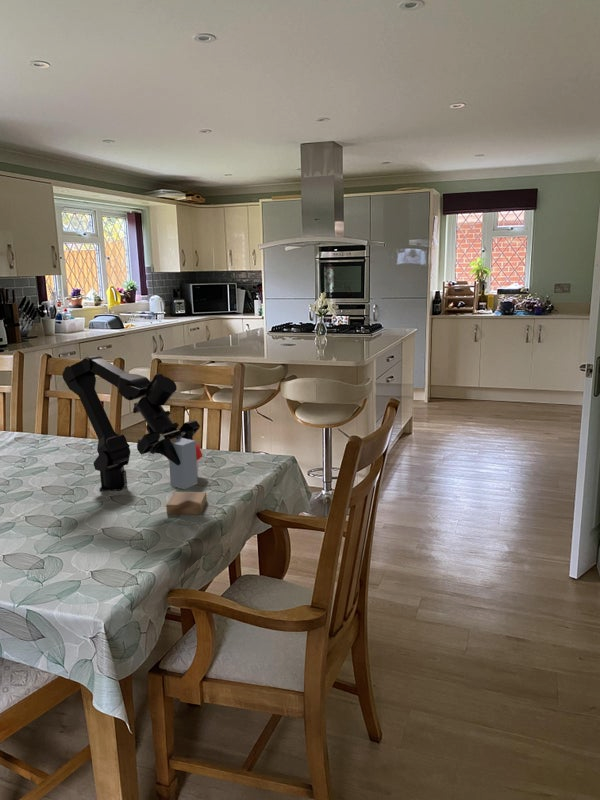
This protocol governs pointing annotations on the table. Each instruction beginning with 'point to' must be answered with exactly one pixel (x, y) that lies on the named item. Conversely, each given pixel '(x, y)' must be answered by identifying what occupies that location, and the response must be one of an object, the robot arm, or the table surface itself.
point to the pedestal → (186, 503)
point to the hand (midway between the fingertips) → (186, 461)
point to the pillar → (184, 464)
